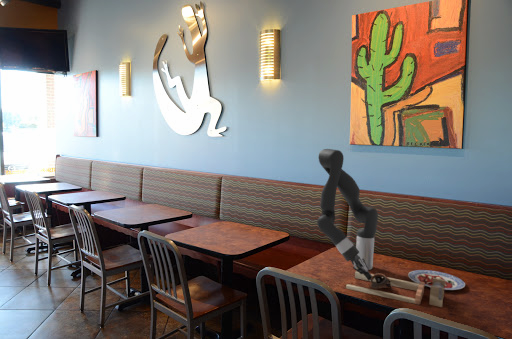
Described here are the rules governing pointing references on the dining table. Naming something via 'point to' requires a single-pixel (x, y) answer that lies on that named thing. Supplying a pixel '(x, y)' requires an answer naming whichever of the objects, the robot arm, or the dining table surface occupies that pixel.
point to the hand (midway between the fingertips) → (370, 279)
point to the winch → (437, 292)
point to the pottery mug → (380, 281)
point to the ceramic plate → (428, 276)
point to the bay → (393, 282)
